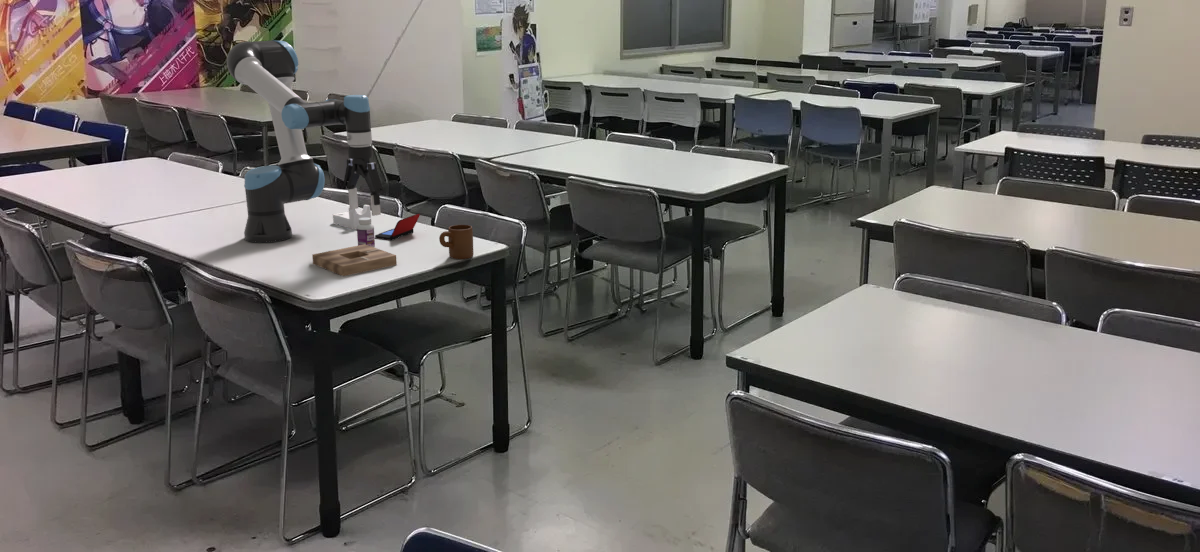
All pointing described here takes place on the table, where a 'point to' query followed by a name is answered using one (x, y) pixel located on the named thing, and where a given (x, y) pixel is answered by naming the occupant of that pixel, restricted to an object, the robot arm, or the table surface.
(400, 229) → the handheld game console
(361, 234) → the pill bottle
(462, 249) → the mug
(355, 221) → the bracket
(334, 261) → the board
